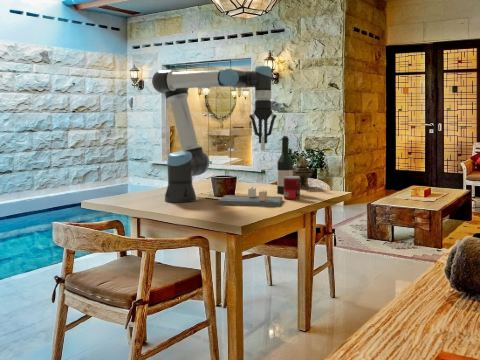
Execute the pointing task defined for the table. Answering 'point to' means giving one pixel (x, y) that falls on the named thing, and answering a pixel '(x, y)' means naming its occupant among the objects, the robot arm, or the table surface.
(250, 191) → the fader
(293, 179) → the canned food
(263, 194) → the fader
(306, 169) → the potted plant
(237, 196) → the console
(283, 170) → the wine bottle
